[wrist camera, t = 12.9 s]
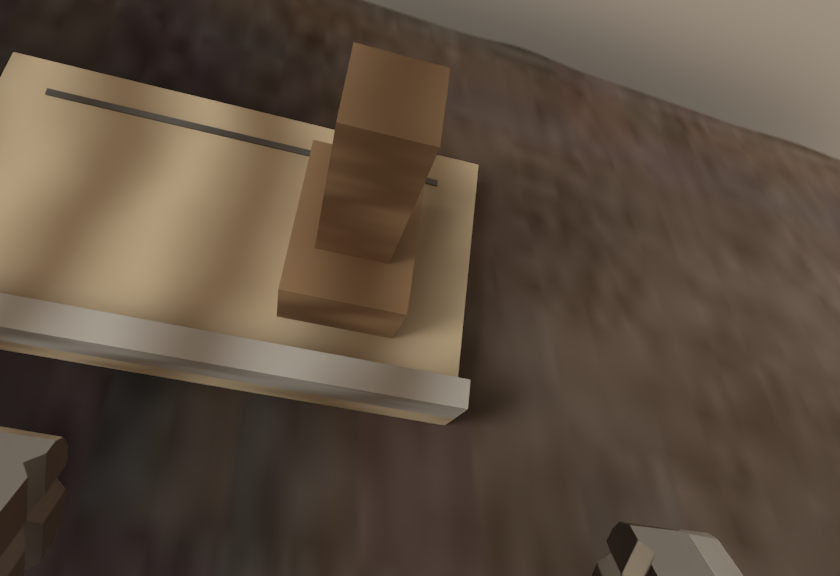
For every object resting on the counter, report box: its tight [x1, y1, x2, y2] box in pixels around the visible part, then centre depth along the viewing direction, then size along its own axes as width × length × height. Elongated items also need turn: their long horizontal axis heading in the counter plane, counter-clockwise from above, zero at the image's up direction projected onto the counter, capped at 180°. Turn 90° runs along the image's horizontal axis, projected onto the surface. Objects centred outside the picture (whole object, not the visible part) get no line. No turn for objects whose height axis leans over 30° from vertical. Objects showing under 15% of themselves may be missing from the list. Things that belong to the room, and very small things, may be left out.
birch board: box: [0, 52, 479, 426], centre depth 27 cm, size 22×13×4 cm, turn 83°
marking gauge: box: [277, 42, 450, 339], centre depth 23 cm, size 5×8×11 cm, turn 173°
